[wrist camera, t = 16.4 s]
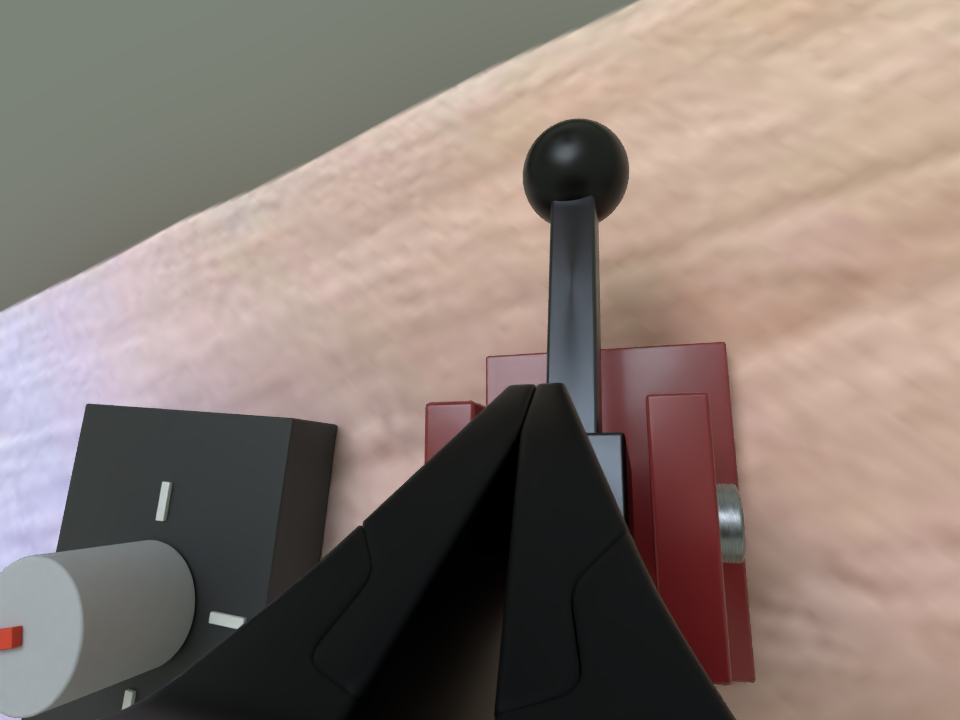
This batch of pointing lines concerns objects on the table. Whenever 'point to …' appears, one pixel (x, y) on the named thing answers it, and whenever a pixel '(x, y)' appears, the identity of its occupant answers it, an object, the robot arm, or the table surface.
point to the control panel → (199, 515)
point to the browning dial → (88, 621)
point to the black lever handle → (580, 272)
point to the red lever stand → (664, 482)
